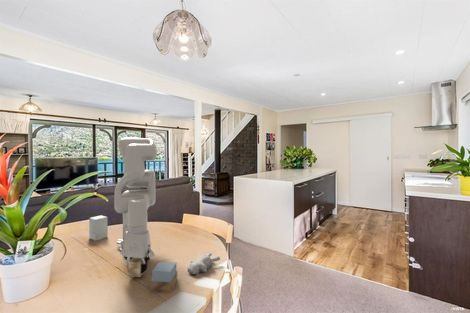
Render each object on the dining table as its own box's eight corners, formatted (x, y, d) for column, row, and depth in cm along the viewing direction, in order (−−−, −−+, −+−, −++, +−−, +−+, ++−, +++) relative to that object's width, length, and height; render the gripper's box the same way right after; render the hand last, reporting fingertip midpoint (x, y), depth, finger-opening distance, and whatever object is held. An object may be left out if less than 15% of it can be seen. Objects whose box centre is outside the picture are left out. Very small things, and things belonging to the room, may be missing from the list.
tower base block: (150, 293, 84) (150, 282, 84) (157, 281, 92) (157, 271, 92) (172, 292, 84) (172, 282, 84) (177, 280, 92) (177, 271, 92)
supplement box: (108, 237, 139) (108, 216, 139) (95, 241, 133) (95, 219, 133) (101, 234, 143) (101, 214, 143) (88, 238, 137) (89, 217, 137)
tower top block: (152, 281, 85) (152, 271, 85) (159, 271, 92) (159, 262, 92) (170, 282, 84) (170, 271, 84) (176, 272, 91) (176, 262, 91)
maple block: (128, 276, 93) (128, 261, 92) (135, 269, 98) (135, 255, 97) (139, 277, 92) (139, 262, 92) (146, 270, 97) (146, 256, 97)
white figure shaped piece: (182, 262, 99) (207, 247, 111) (183, 273, 100) (208, 257, 111) (197, 269, 93) (221, 253, 105) (198, 281, 94) (222, 263, 105)
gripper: (112, 230, 91) (112, 274, 92) (152, 233, 89) (152, 278, 90) (124, 224, 99) (124, 265, 100) (161, 226, 97) (160, 268, 97)
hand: (137, 270), depth 95 cm, fingers closed on maple block, 5 cm apart
